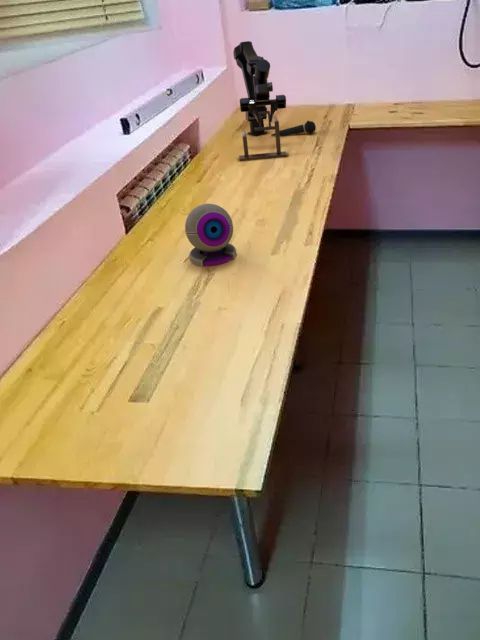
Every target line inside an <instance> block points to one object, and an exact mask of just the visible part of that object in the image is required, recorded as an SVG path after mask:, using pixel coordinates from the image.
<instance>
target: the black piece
mask: <svg viewBox="0 0 480 640" xmlns="http://www.w3.org/2000/svg"><path fill="white" fill-rule="evenodd" d="M258 114H259V121H260V123H259V125H260V127H258V128H254V129H255V131H262V130H264V131H275V125H272V122H271V121H270V110H267V111H262V112H258ZM261 114H267V119H268V121H267V122H268V126H264V127H262V124H261Z"/></svg>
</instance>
